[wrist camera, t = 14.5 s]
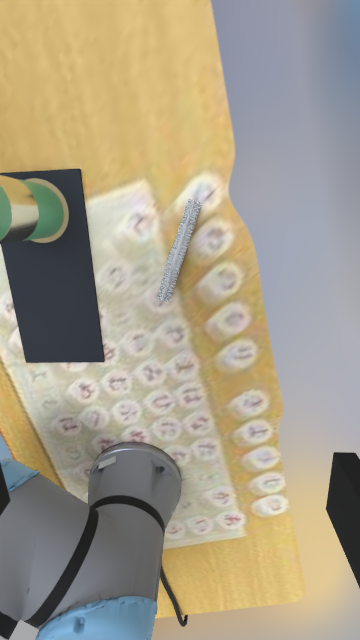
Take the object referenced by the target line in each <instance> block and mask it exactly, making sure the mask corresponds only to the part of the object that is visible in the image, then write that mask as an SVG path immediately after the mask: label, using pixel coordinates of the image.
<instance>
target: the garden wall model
mask: <svg viewBox="0 0 360 640" xmlns="http://www.w3.org/2000/svg"><path fill="white" fill-rule="evenodd" d="M199 205H202V204H200V202H197V201H195V200H191V199H189V200H188V203H187V206H186V209H185V212H184V215H183V219H182V221H181V224H180V227H179V230H178V233H177V236H176V240H175V242H174V244H173V246H172V249H171V252H170V255H168V256H169V257H168V258H167V262H166V265H165V272H164V277H163V282H162V285H161V288H160V290H159V293H158V296H157V298H158V299H160V300H161V301H169V302H170V300H169V298H170V299H171V297H170V296H172V294H171V293H173V292H172V290H174V289H172V288H173V287H175V286H173V284H174V285H176V283H174V282H177V281H176V280H177V277H178V274H179V271H180V268H181V265H182V262H183V259H184V256H185V253H186V251H187V248H188V246H187V245H189V244H187V242H190V241H188V239H191V238H190V237H189V236H192V235H191V234H190V232H191V233H193V231H191V229H192V230H194V228H193V227H194V224H195V221H196V218H197V217H196V216H197V215H198V214H199V213H198V212H199V209H200V208H201V207H200V206H199Z"/></svg>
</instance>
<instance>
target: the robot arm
mask: <svg viewBox="0 0 360 640" xmlns="http://www.w3.org/2000/svg"><path fill="white" fill-rule="evenodd" d="M39 473H40V472H39V471H38V470H35V471H34V470H32V469H31V468H29V467H27V466H25V465H23V464H22V463H20V462H18V461H16V460H14V459H3V460H0V640H9V638H10V636H11V634H12V633H13V631H14V629H15V627H16V625H17V623H18V622H19V620H23V621H24V622H26V623H28V624H30V625H32V626H34V627H35V628H37V629H39V632H38V634H37V636H36V639H35V640H151V637H152V631H153V626H154V621H155V615H156V613H157V597H158V588H159V578H161V581H162V583H163V585H164V587H165V589H166V591H167V593H168V595H169V597H170V599H171V601H172V603H173V606H174V609H175V612H176V615H177V618H178V621H179V623H180V624H181V626H185V625H186V624H187V620H188V615H185V616H184V621H183V620H182V617H181V614H180V611H179V608H178V605H177V602H176V600H175V598H174V596H173V594H172V592H171V590H170V588H169V586H168V584H167V582H166V579H165V577H164V574H163V571H162V567H161V560H162V551H163V542H164V533H165V528H166V526H167V524H168V522H169V520H170V518H171V516H172V514H173V512H174V510H175V508H176V505H177V503H178V501H179V498H180V493H181V476H180V472H179V469H178V467H177V466H176V464H175V463H174V461H173V460H172V459H171V458H170V457H169V456H168V455H167V454H165V453H164V452H163V451H161V450H159V449H157V448H155V447H153V446H151V445H147V444H143V443H136V442H128V443H121V444H117V445H114V446H112V447H110V448H108V449H106V450H105V451H103V452H102V453H101V454H100V455H99V456H98V458H97V459H96V461H95V463H94V465H93V468H92V470H91V472H90V476H89V486H88V504H86V503H85V502H83V501H81V500H80V499H78V498H77V497H75V496H74V495H72V494H70V493H69V492H67V491H66V490H64V489H63V488H61V487H59V486H58V485H56V484H55V483H53V482H52V481H50V480H49V479H47V478H45V477H44V476H42V475H41V474H39ZM326 510H327V513H328V515H329V517H330V520H331V522H332V524H333V527H334V529H335V531H336V534H337V536H338V538H339V541H340V543H341V545H342V548H343V550H344V552H345V555H346V557H347V559H348V562H349V564H350V566H351V569H352V571H353V573H354V576H355V578H356V580H357V583H358V585H359V587H360V459H359V458H358V456H357V455H356V453H339V452H338V453H337V452H334V455H333V462H332V469H331V476H330V484H329V491H328V498H327V506H326Z"/></svg>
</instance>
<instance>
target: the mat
mask: <svg viewBox="0 0 360 640" xmlns="http://www.w3.org/2000/svg"><path fill="white" fill-rule="evenodd" d="M0 175H2V176H7V177H11V178H14V179H19V180H23V181H28V182H33V183H37V184H41V185H44V186H46V187H48V188H50V189H51V190H52V191H53V192H54V193H55V194H56V195H57V196H58V198H59V199H60V202H61V204H62V207H63V214H64V215H63V222H62V225H61V227H60V229H59V230H58V231H57V232H56V233H55V234H54V235H52V236H50V237H47V238H41V239H32V240H24V241H19V242H11V243H3V244H1V246H2V251H3V256H4V261H5V265H6V270H7V275H8V279H9V284H10V289H11V294H12V298H13V303H14V308H15V313H16V317H17V322H18V327H19V331H20V336H21V341H22V346H23V350H24V355H25V360H26V363H38V362H104V353H103V345H102V337H101V329H100V321H99V313H98V305H97V297H96V289H95V281H94V273H93V266H92V258H91V250H90V242H89V234H88V226H87V218H86V210H85V202H84V194H83V186H82V178H81V170H80V169H67V170H49V171H31V172H13V173H0Z"/></svg>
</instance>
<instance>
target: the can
mask: <svg viewBox="0 0 360 640" xmlns="http://www.w3.org/2000/svg"><path fill="white" fill-rule="evenodd" d="M63 215H64V214H63V207H62V204H61V202H60V199H59V198H58V196H57V195H56V194H55V193H54V192H53V191H52V190H51V189H50V188H48V187H46V186H44V185H41V184H37V183H33V182H28V181H23V180H19V179H14V178H11V177H7V176H2V175H0V244H3V243H11V242H19V241H24V240H32V239H41V238H47V237H50V236H52V235H54V234H55V233H56V232H57V231H58V230H59V229H60V227H61V225H62V222H63Z"/></svg>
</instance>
